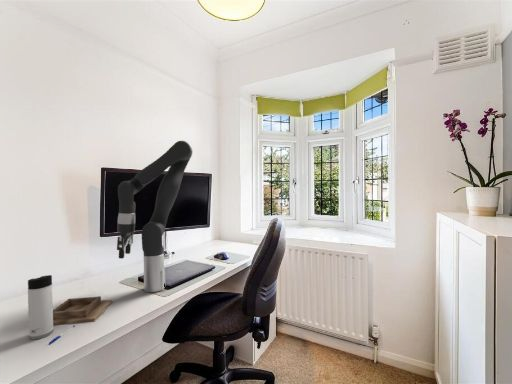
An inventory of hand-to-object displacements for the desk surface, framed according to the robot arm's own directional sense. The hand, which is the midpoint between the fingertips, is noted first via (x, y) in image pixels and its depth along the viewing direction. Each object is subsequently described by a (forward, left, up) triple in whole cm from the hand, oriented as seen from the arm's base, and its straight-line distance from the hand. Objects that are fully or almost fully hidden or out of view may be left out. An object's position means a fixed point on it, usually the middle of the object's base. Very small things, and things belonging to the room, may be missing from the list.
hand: (124, 255), depth 119 cm
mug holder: (+12, +19, -17) cm, 28 cm away
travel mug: (+16, +33, -17) cm, 40 cm away
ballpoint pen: (+9, +34, -18) cm, 39 cm away
